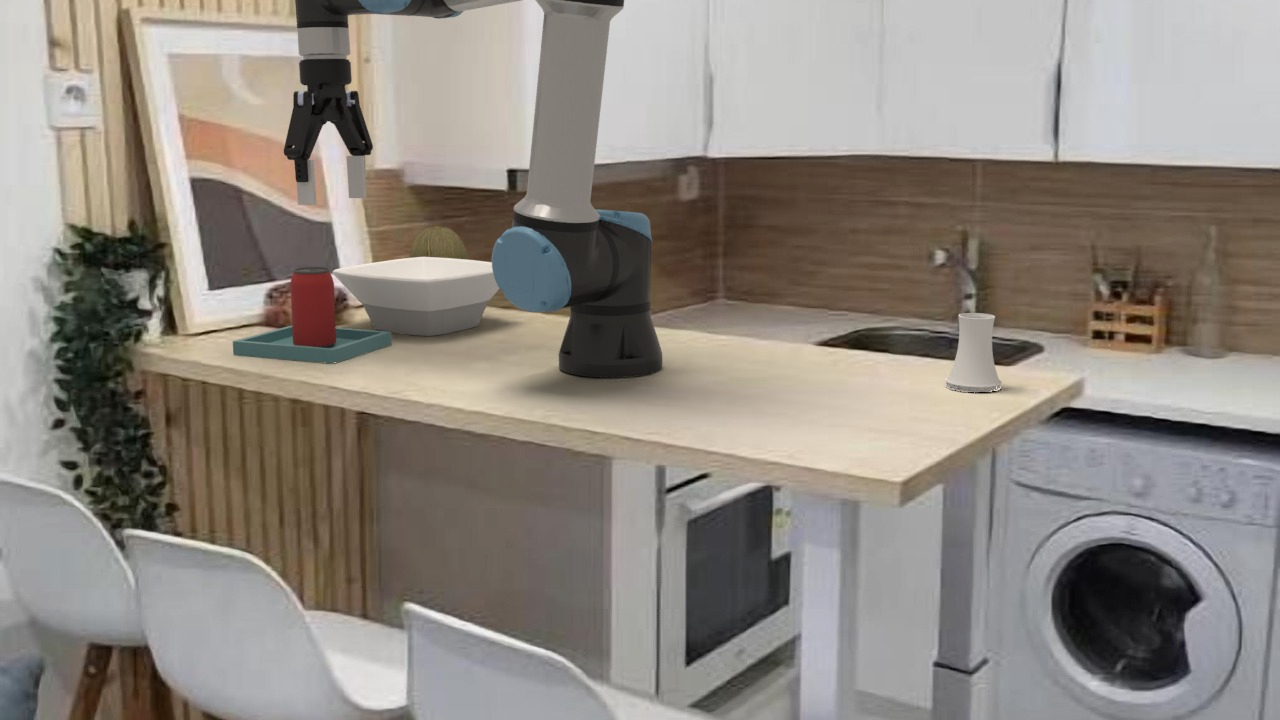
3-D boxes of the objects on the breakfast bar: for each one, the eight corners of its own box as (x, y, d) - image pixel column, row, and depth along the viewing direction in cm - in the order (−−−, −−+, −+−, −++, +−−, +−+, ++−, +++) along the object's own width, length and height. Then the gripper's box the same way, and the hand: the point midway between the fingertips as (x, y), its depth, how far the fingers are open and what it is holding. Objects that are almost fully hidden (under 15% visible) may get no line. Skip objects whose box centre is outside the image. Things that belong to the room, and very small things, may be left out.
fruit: (483, 305, 256) (481, 225, 253) (438, 313, 248) (436, 230, 245) (440, 299, 263) (438, 221, 260) (396, 306, 255) (393, 225, 252)
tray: (391, 344, 218) (390, 331, 218) (333, 363, 204) (332, 349, 204) (296, 336, 225) (295, 324, 225) (233, 354, 210) (232, 341, 210)
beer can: (325, 350, 211) (322, 272, 208) (285, 348, 212) (281, 271, 210) (343, 342, 217) (340, 266, 215) (304, 340, 218) (300, 265, 216)
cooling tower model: (987, 380, 194) (991, 310, 192) (1010, 392, 186) (1014, 319, 184) (936, 382, 192) (939, 311, 190) (957, 394, 185) (961, 321, 183)
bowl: (321, 331, 231) (318, 270, 229) (425, 310, 251) (424, 254, 249) (427, 346, 217) (426, 282, 215) (529, 324, 238) (528, 265, 235)
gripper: (349, 60, 218) (356, 195, 222) (252, 57, 195) (262, 207, 199) (390, 59, 216) (397, 195, 220) (296, 55, 193) (306, 208, 197)
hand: (333, 201), depth 209 cm, fingers open, 13 cm apart
